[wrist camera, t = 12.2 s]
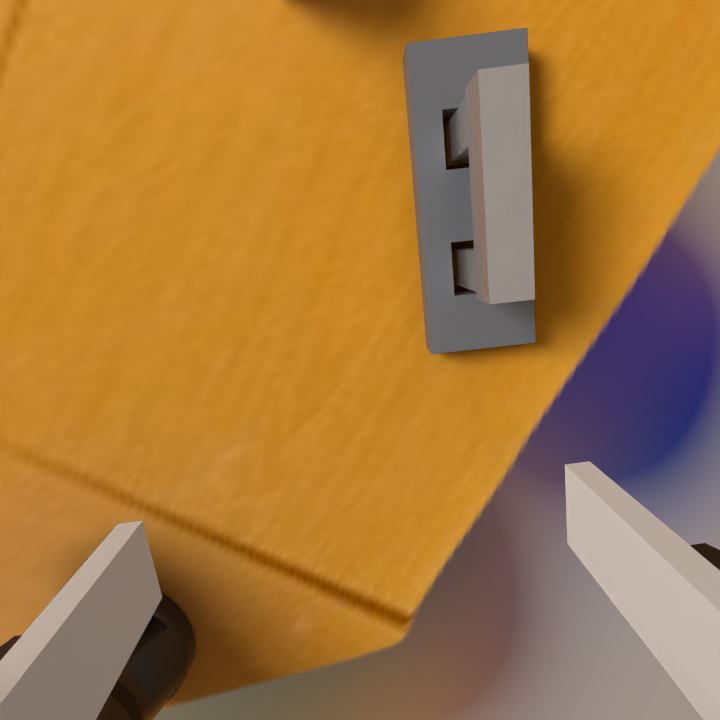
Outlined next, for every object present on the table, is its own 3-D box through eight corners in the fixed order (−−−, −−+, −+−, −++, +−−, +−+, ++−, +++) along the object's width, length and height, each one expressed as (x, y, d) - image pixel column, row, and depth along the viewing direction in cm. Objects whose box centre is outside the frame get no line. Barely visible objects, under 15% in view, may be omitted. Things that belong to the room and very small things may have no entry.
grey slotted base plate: (426, 347, 43) (431, 354, 40) (403, 59, 37) (406, 43, 34) (523, 336, 43) (535, 342, 40) (514, 44, 37) (527, 27, 34)
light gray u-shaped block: (455, 289, 42) (489, 304, 31) (443, 121, 38) (478, 69, 27) (488, 285, 42) (535, 299, 30) (479, 116, 38) (528, 62, 27)
